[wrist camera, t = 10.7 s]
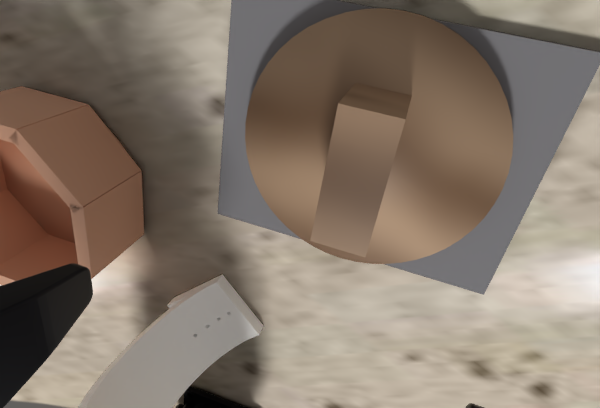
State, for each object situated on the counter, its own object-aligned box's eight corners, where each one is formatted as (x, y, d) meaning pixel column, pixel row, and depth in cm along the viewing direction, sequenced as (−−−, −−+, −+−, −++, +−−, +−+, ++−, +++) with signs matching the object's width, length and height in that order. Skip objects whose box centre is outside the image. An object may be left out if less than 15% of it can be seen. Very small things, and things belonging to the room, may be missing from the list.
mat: (601, 52, 16) (605, 53, 15) (483, 289, 22) (483, 294, 21) (236, -20, 18) (232, -20, 18) (220, 210, 24) (217, 213, 24)
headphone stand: (264, 326, 28) (162, 524, 18) (203, 348, 31) (86, 529, 20) (222, 273, 27) (88, 452, 17) (163, 301, 30) (19, 468, 19)
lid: (455, 283, 22) (457, 345, 18) (242, 218, 24) (205, 262, 20) (563, 41, 16) (601, 58, 12) (265, -17, 18) (218, -17, 14)
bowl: (142, 116, 23) (75, 146, 19) (148, 270, 29) (97, 320, 24) (-20, 72, 25) (-114, 91, 21) (15, 225, 30) (-54, 264, 26)
